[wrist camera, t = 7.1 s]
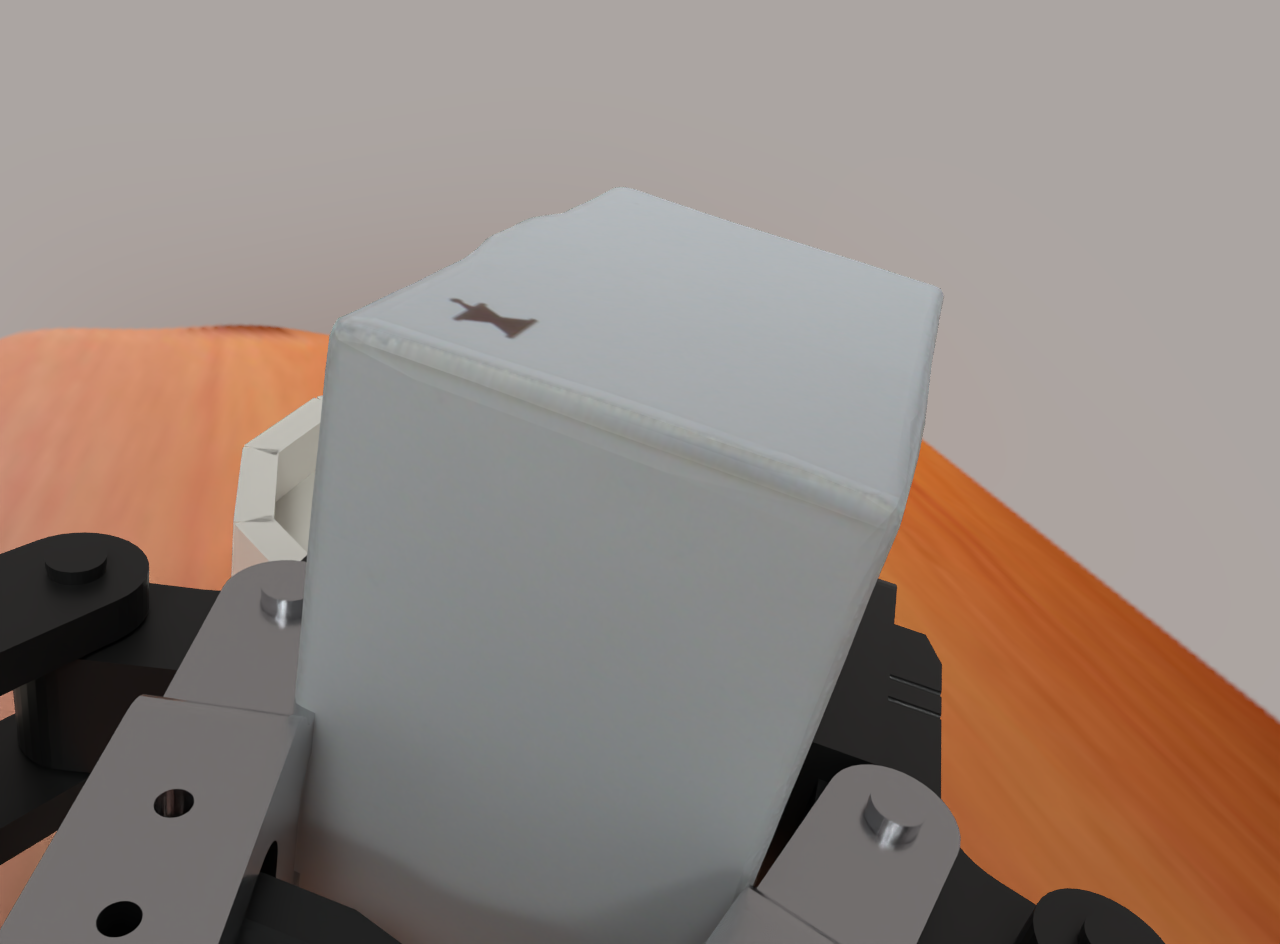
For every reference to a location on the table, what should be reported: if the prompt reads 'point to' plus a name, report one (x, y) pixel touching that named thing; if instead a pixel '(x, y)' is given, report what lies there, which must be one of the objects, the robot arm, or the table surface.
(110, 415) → the table surface
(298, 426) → the bowl
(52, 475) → the table surface
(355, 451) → the skincare box
